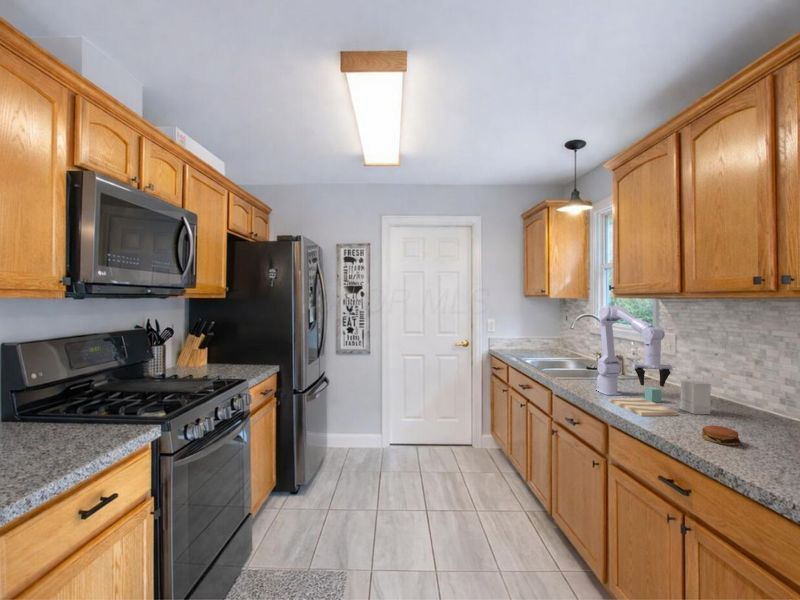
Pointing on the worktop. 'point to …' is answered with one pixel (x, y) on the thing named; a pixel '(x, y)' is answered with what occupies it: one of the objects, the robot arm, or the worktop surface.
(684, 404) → the supplement box
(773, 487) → the worktop surface
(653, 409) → the birch board
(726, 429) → the burger
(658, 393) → the teal block
